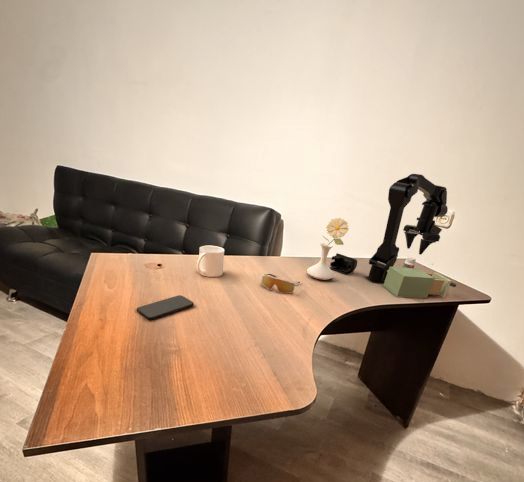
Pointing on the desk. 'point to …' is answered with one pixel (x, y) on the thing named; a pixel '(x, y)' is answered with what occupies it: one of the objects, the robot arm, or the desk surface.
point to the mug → (210, 261)
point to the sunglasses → (278, 284)
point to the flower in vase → (335, 230)
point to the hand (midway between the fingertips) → (414, 251)
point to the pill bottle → (409, 263)
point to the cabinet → (408, 282)
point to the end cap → (343, 264)
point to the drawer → (440, 284)
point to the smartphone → (164, 307)
